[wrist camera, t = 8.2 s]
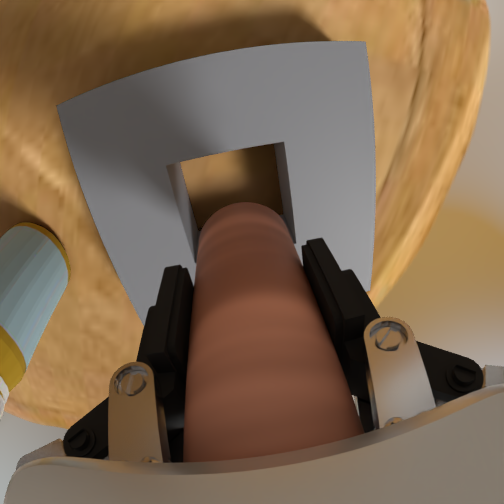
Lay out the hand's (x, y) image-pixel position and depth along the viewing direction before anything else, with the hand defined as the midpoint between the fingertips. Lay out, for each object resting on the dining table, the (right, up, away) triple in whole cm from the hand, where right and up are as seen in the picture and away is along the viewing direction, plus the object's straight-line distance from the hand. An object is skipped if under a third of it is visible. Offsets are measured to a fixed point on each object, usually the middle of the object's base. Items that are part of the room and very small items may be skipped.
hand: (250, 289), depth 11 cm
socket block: (-1, +6, +9) cm, 11 cm away
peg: (0, +2, +3) cm, 3 cm away
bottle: (-18, +1, +10) cm, 20 cm away
